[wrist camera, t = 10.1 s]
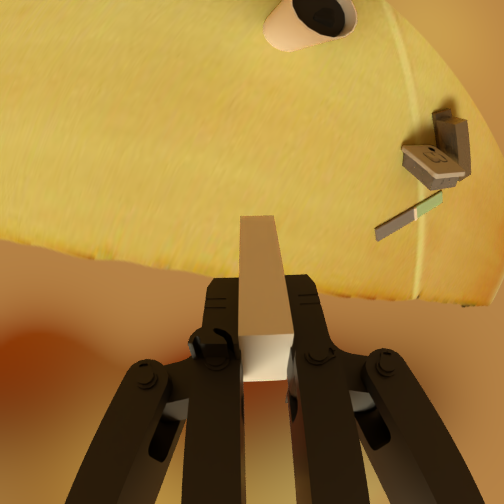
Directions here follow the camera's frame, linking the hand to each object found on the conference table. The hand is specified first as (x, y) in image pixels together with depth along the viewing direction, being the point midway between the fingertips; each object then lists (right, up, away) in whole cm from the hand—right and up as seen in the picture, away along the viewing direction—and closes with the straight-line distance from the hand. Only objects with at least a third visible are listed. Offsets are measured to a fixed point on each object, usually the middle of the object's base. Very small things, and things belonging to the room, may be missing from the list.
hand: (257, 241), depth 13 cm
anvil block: (+33, +18, +23) cm, 44 cm away
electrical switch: (+26, +15, +23) cm, 38 cm away
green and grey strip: (+27, +6, +28) cm, 40 cm away
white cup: (+4, +25, +11) cm, 28 cm away
